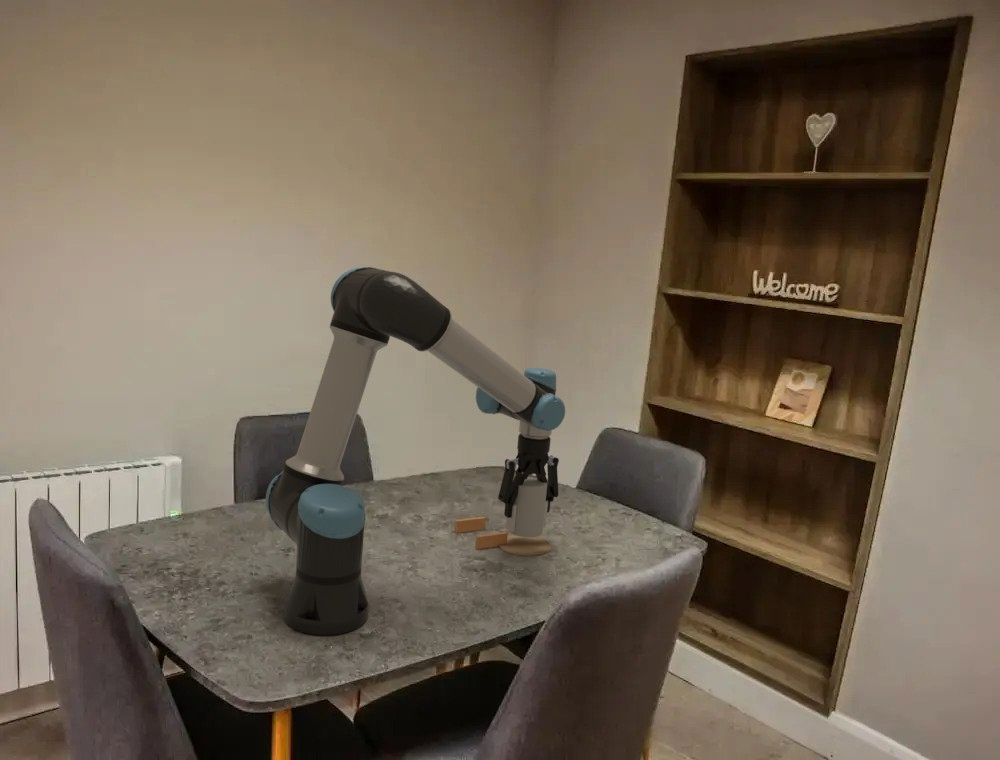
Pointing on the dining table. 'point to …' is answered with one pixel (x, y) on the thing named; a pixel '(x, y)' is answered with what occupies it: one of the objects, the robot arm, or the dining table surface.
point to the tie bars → (481, 540)
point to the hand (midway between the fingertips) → (525, 527)
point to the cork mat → (526, 545)
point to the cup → (530, 508)
